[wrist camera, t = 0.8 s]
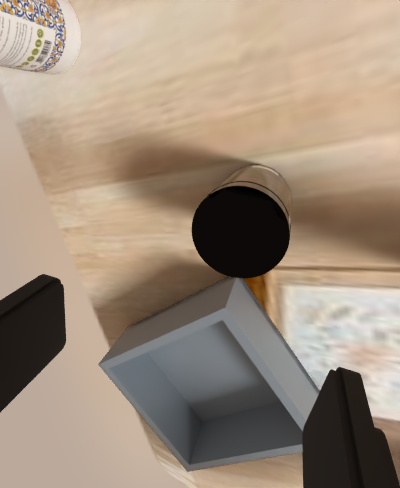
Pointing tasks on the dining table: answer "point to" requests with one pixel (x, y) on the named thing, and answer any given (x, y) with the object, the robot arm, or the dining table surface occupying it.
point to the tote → (214, 378)
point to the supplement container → (244, 223)
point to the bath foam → (39, 35)
